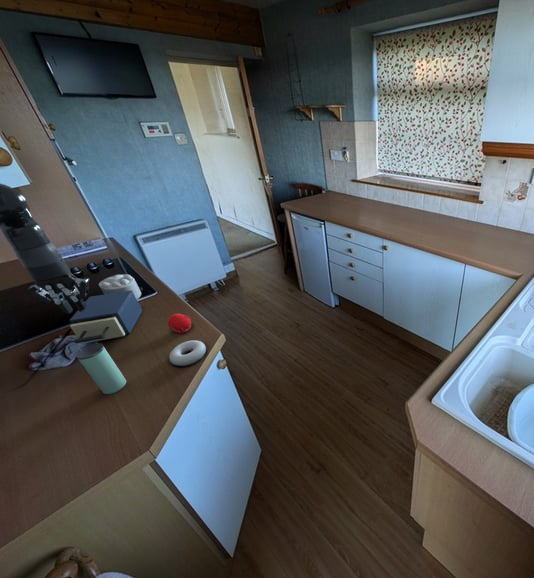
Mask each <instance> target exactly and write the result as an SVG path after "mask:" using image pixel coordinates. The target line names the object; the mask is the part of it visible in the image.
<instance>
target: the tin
mask: <svg viewBox="0 0 534 578" xmlns="http://www.w3.org/2000/svg"><path fill="white" fill-rule="evenodd" d="M74 357H75V358H76V359H77V360H78V361H79V362H80V364H81V365H82V367H83V368H84V369H85V371H86V372H87V373H88V375H89V376H90V378H91V379H92V380H93V381H94V383H95V384H96V385H97V386H98V388H99V389H100V390H101V393H103V394H105V395H111V394H114V393H117V392H118V391H120V390H122V389H123V388H124V387H125V386H126V384H127V379H126V378H125V376H124V375H123V373H122V372H121V370H120V369H119V367H118V366H117V364H116V363H115V361H114V360H113V358H112V357H111V356H110V354H109V352H108V351H107V349H106V348H105V346H104V344H102V343H100V342H97V343H91V344H88V345H85V346H83V347H82V348H80V349H78V350H77V351H76V352H75V356H74Z"/></svg>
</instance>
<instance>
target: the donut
mask: <svg viewBox="0 0 534 578" xmlns="http://www.w3.org/2000/svg"><path fill="white" fill-rule="evenodd" d="M206 351H207V347H206V345H205V343H204V342H203V341H201V340H196V339H195V340H192V339H191V340H187V341H184V342H181V343H179V344H177V345H176V346H175V347H173V349H172V350H171V351H170V353H169V361H170V363H171V364H173V365H174V366H178V367H186V366H190V365H192V364H194V363H196V362H198V361H199V360H200V359H202V358H203V357H204V356H205V354H206ZM188 352H189V353H188Z"/></svg>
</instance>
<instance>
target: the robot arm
mask: <svg viewBox="0 0 534 578" xmlns="http://www.w3.org/2000/svg"><path fill="white" fill-rule="evenodd" d="M0 232H1V234H2V236H3V237H4V239H5V241H6V242H7V243H8V245H9V246H10V247H11V249H12V250H13V252H14V255H15V256H16V258H17V260H18V261H19V263H20V264H21V265H22V266H23V268H24V270H25V271H26V272H27V273H28V275H29V276H30V278H31V279H32V280H33V281H35V284H32V285H31V286H30V287H28V288H27V289H26V292H27V293H29V294H31V295H32V296H34V297H35V298H37V299H38V300H40V301H42V302H43V303H46V304H48V305H51V304H55V305H57V306H58V308H59V309H60V310H61V312H63V313H65V314H66V315H69V314H71V313H73V311H74V309H73V307H72V306H71V305H70V303H69V302H68V300H67V299H66V298H65V296H67V297H69V299H71V300H72V301H73V303H72V304H74V305H75V307H76V309H77V311H78V310H79V311H80V312H83V311H84V310H85V309H86V307H87V305H86V304H85V302H86V301H84V299H85V298H86V297H87V296H88V295H89V290H90V278H88V277H85V278H78V277H77V276H76V275H74V274H72V272H71V269H70V267H69V266H68V264H67V263H66V261H65V259H64V258H63V256H62V254H61V253H60V251H59V250H58V249H57V247H56V246H55V245H54V244H53V242H52V241H51V239H50V238H49V236H48V235H47V233H46V232H45V230H44V229H43V227H42V226H41V225H40V224H39V223H38V222H37V221H36V220H35V219H34V218H33V216H32V215H31V213H30V211H29V209H28V201H27V198H26V197H25V196H24V195H23V194H22V193H21V192H20V191H19V190H17V189H15V188H13V187H11V186H9V185H6V184H3V183H0ZM76 284H77V286H78V287H79V289H78V287H77V286H76ZM64 294H65V295H64Z"/></svg>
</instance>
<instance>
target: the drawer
mask: <svg viewBox="0 0 534 578" xmlns="http://www.w3.org/2000/svg"><path fill="white" fill-rule="evenodd" d="M69 327H70V329H71V330H72V331H73V332H72V333H74V335H75V336H76V337H77V338H75V339H74V344H76V345H77V344H82V345H83V344H89V343H94V342H98V341H99V342H100V341H104V340H110V339H115V338H120V337H125V335H126V334H125V332H124V329H123V327H122V325H121V324H120V322H119V320H118V318H117V317H116V315H113V316H107V317H101V318H95V319H89V320H83V321H78V323H76V324H72V323H71V324H70V326H69Z"/></svg>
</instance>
